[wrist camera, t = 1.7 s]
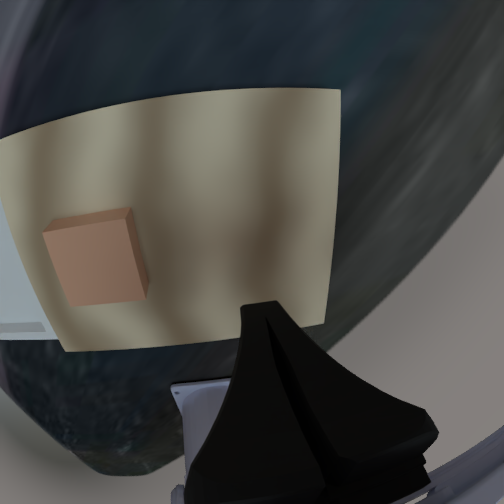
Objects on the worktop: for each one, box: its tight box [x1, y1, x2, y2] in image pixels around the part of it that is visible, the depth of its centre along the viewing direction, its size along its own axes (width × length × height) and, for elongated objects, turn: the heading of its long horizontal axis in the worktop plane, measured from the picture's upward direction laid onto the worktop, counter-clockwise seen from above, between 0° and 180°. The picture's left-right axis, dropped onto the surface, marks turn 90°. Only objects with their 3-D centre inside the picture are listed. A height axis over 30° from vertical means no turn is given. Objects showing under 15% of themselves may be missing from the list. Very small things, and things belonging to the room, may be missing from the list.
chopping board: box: [0, 88, 341, 352], centre depth 18 cm, size 20×16×2 cm
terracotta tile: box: [42, 207, 149, 307], centre depth 16 cm, size 5×5×2 cm
